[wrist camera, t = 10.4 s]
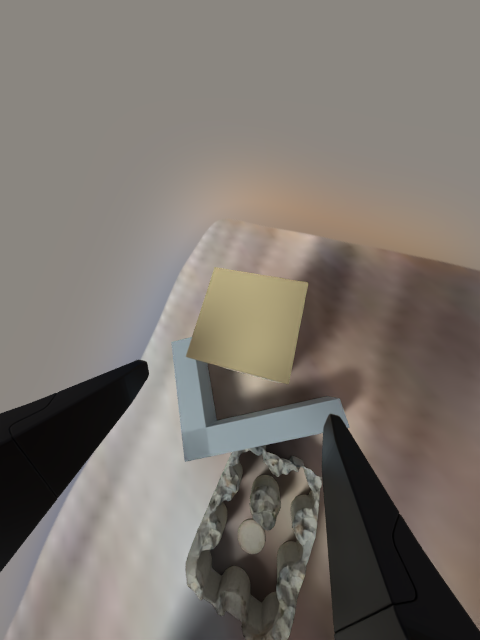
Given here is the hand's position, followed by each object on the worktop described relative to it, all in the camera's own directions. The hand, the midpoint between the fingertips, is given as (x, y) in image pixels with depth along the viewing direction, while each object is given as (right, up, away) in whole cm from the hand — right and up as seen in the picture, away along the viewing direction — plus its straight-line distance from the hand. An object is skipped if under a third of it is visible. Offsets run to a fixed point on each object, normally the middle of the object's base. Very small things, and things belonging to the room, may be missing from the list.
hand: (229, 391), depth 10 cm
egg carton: (+2, -13, +8) cm, 15 cm away
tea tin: (+2, 0, +11) cm, 11 cm away
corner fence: (+2, -3, +10) cm, 11 cm away
